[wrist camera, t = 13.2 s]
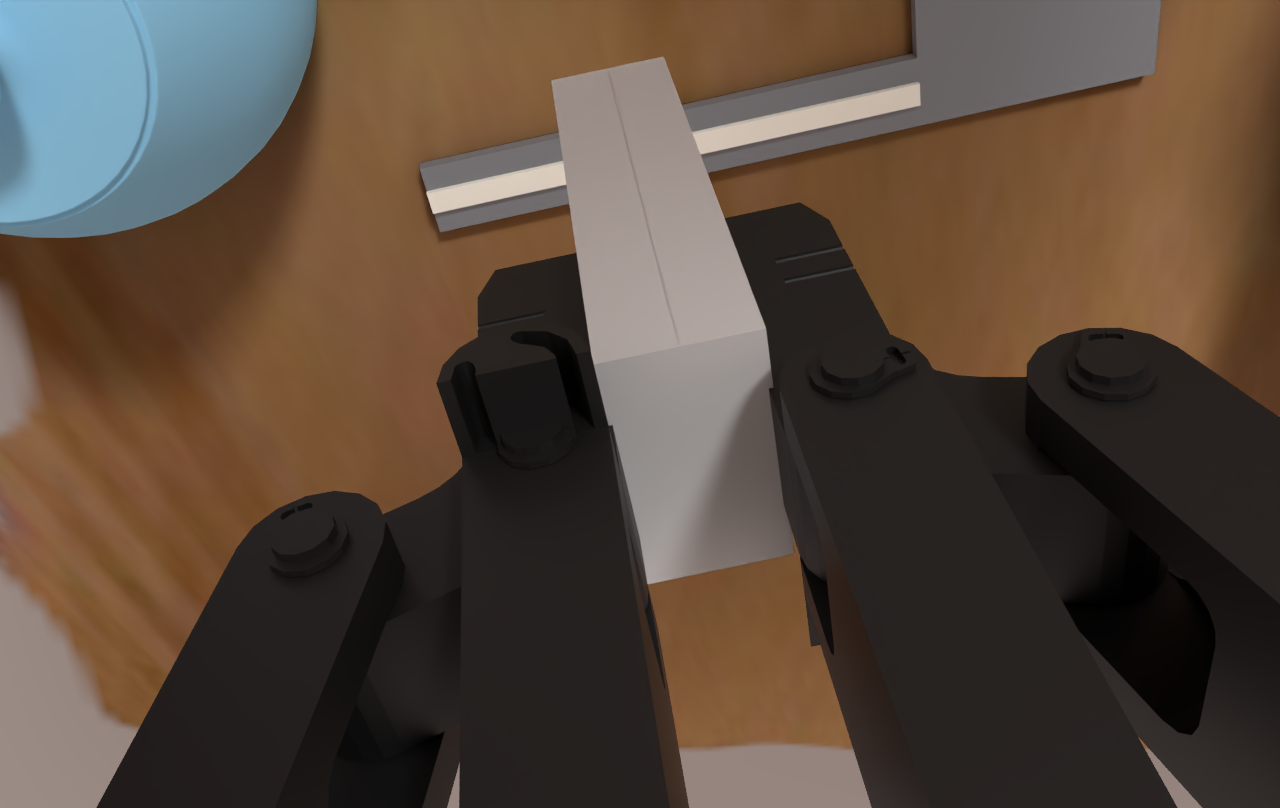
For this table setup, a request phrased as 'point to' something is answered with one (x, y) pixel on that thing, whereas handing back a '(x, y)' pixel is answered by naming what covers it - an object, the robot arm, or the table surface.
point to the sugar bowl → (137, 105)
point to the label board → (849, 96)
